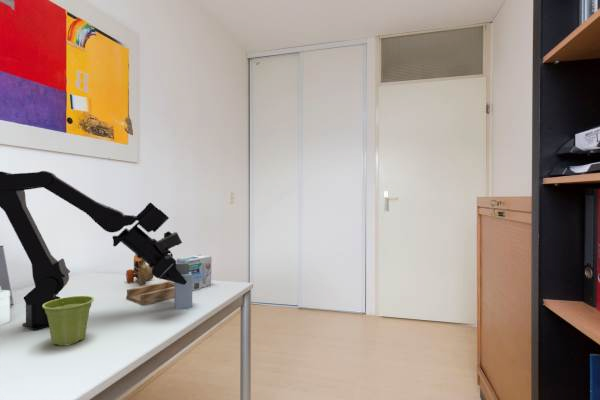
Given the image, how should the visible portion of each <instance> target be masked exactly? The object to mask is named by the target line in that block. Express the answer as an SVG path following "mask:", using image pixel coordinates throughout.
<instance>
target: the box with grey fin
mask: <svg viewBox="0 0 600 400" xmlns="http://www.w3.org/2000/svg"><path fill="white" fill-rule="evenodd" d="M176 269H177V270H178V271H179V272H180V274H181V275H182V276H183V277H184V279H185V280H186V281H187V283H186V284H185V285H183V284H179V283H175V282H174V298H173V299H174V308H175V310H178V311H179V310H183V309H191V308H193V290H192V274H191V272H189V263H181V264H177V263H176Z"/></svg>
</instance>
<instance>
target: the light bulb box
mask: <svg viewBox="0 0 600 400" xmlns="http://www.w3.org/2000/svg"><path fill="white" fill-rule="evenodd" d="M181 263H189V272H191V274H192V291H196V290H200V289H203V288H202V287H204V288H207V287H206V286H208V287H210V286H209V285H211V286H212V256H211V255H205V254H204V255H203V254H196V255H189V256H185V257H179V258H176V264H181ZM199 288H200V289H199ZM195 289H196V290H195Z"/></svg>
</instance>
